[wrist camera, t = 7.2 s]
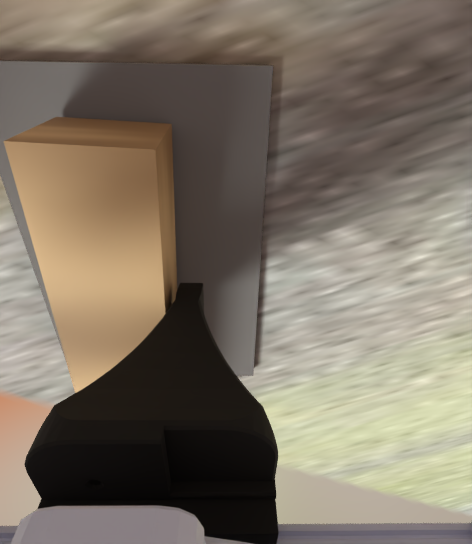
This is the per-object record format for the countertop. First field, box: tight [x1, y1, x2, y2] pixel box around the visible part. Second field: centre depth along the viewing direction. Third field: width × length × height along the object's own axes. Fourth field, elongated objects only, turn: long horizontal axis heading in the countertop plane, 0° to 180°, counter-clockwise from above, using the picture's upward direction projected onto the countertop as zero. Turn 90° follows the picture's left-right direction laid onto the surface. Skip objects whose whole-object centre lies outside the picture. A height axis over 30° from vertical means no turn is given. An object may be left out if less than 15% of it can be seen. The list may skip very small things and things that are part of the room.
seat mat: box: [0, 60, 273, 376], centre depth 14 cm, size 9×14×1 cm, turn 179°
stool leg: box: [4, 117, 177, 393], centre depth 14 cm, size 16×4×3 cm, turn 176°
